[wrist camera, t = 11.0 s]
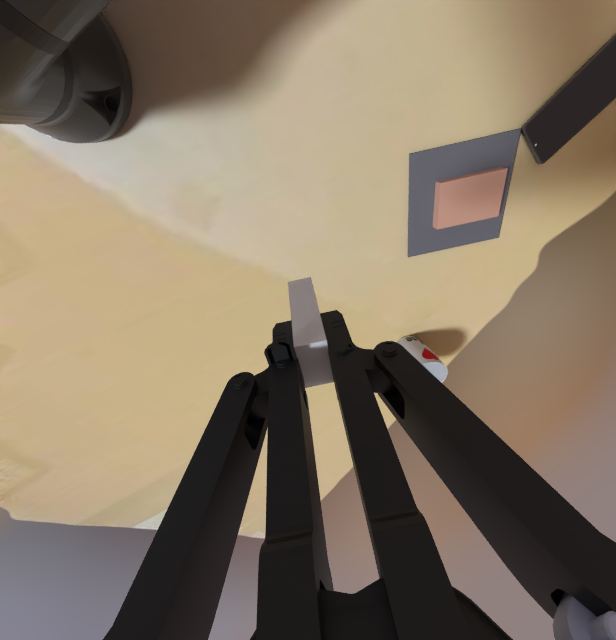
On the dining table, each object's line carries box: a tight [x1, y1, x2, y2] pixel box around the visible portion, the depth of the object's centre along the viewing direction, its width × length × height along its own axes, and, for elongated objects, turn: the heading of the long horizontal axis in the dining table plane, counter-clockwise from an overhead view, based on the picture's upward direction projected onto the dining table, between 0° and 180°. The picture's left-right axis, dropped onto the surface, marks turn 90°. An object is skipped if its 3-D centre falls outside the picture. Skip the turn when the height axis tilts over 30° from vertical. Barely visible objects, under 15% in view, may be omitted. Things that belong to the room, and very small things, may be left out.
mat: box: [408, 129, 521, 257], centre depth 45 cm, size 16×16×1 cm
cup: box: [397, 336, 448, 383], centre depth 57 cm, size 8×8×10 cm
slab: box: [433, 167, 508, 230], centre depth 44 cm, size 7×2×10 cm
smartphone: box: [521, 34, 616, 164], centre depth 39 cm, size 7×1×16 cm
